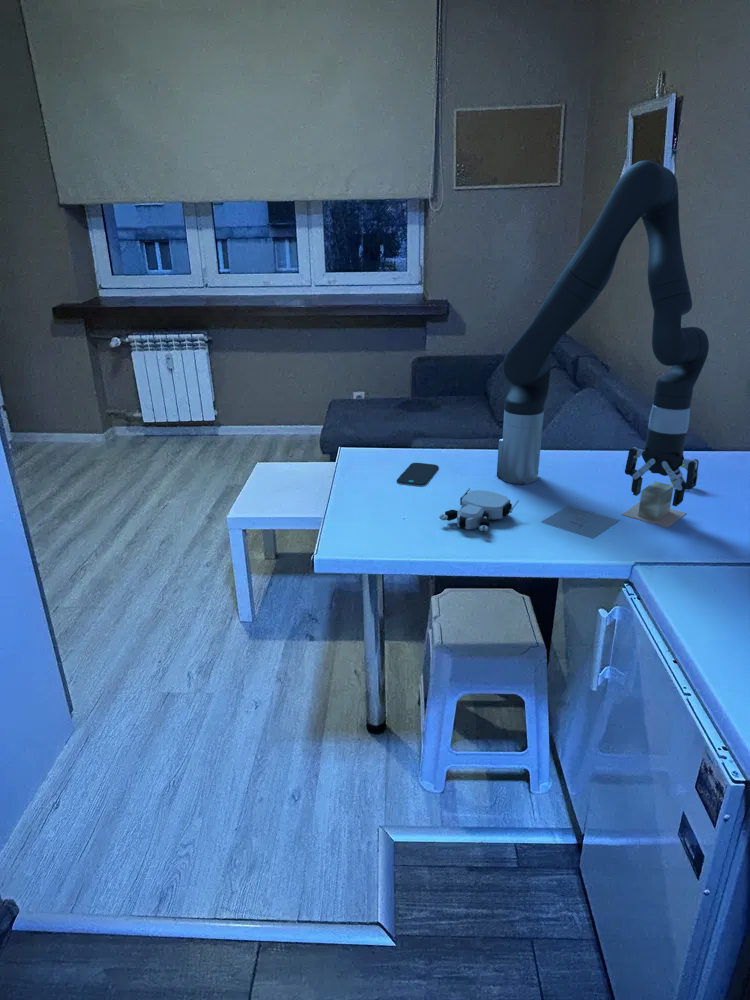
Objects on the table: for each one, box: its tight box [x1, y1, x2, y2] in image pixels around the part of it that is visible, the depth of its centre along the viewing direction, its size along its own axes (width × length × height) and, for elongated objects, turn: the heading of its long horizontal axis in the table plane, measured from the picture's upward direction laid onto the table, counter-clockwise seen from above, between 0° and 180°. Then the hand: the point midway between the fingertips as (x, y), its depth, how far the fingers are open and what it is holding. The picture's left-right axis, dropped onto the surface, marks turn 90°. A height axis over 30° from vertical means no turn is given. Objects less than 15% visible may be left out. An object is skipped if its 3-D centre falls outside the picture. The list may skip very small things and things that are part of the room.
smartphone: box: [396, 462, 440, 487], centre depth 172 cm, size 8×1×15 cm
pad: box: [621, 501, 687, 529], centre depth 148 cm, size 10×10×1 cm
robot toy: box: [439, 487, 520, 532], centre depth 145 cm, size 12×4×15 cm
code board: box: [540, 505, 620, 540], centre depth 145 cm, size 12×12×1 cm
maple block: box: [638, 481, 675, 521], centre depth 146 cm, size 4×7×6 cm, turn 137°
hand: (655, 499), depth 146 cm, fingers open, 8 cm apart
